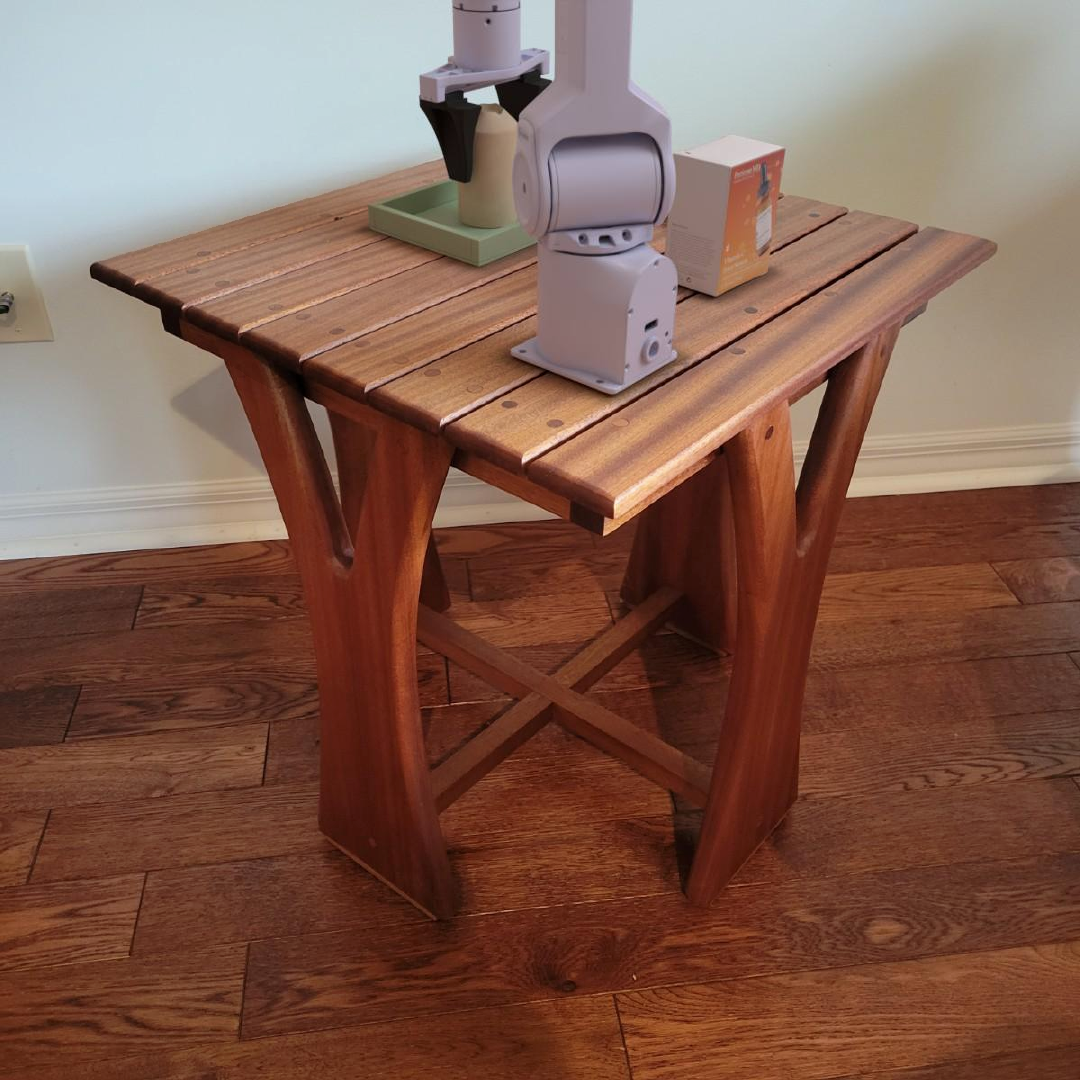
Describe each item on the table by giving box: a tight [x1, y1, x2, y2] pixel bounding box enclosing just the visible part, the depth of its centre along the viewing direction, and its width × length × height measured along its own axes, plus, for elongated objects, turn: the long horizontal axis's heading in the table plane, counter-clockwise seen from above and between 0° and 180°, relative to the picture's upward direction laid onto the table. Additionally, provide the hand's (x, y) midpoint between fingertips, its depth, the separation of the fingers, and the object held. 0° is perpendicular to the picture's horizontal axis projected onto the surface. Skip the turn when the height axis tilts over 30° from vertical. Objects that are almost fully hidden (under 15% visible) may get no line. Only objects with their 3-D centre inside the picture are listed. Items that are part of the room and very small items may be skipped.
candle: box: [458, 102, 517, 228], centre depth 99 cm, size 6×6×10 cm
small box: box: [663, 133, 786, 297], centre depth 89 cm, size 8×6×10 cm
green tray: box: [367, 177, 538, 268], centre depth 101 cm, size 14×18×2 cm
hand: (488, 170), depth 99 cm, fingers open, 7 cm apart
